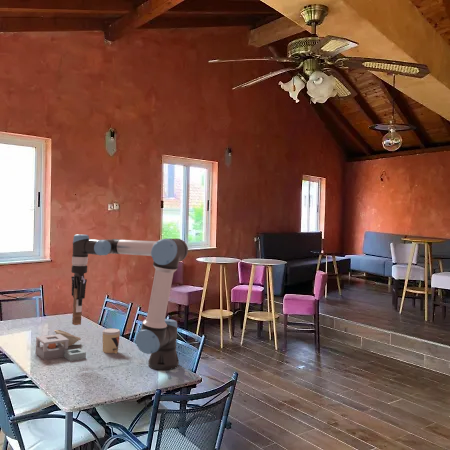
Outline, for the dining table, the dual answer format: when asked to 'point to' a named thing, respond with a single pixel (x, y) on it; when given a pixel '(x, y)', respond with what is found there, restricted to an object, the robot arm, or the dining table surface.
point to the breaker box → (53, 352)
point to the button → (51, 345)
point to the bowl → (68, 337)
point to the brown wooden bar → (76, 315)
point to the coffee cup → (111, 340)
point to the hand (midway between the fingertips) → (77, 311)
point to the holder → (74, 354)
